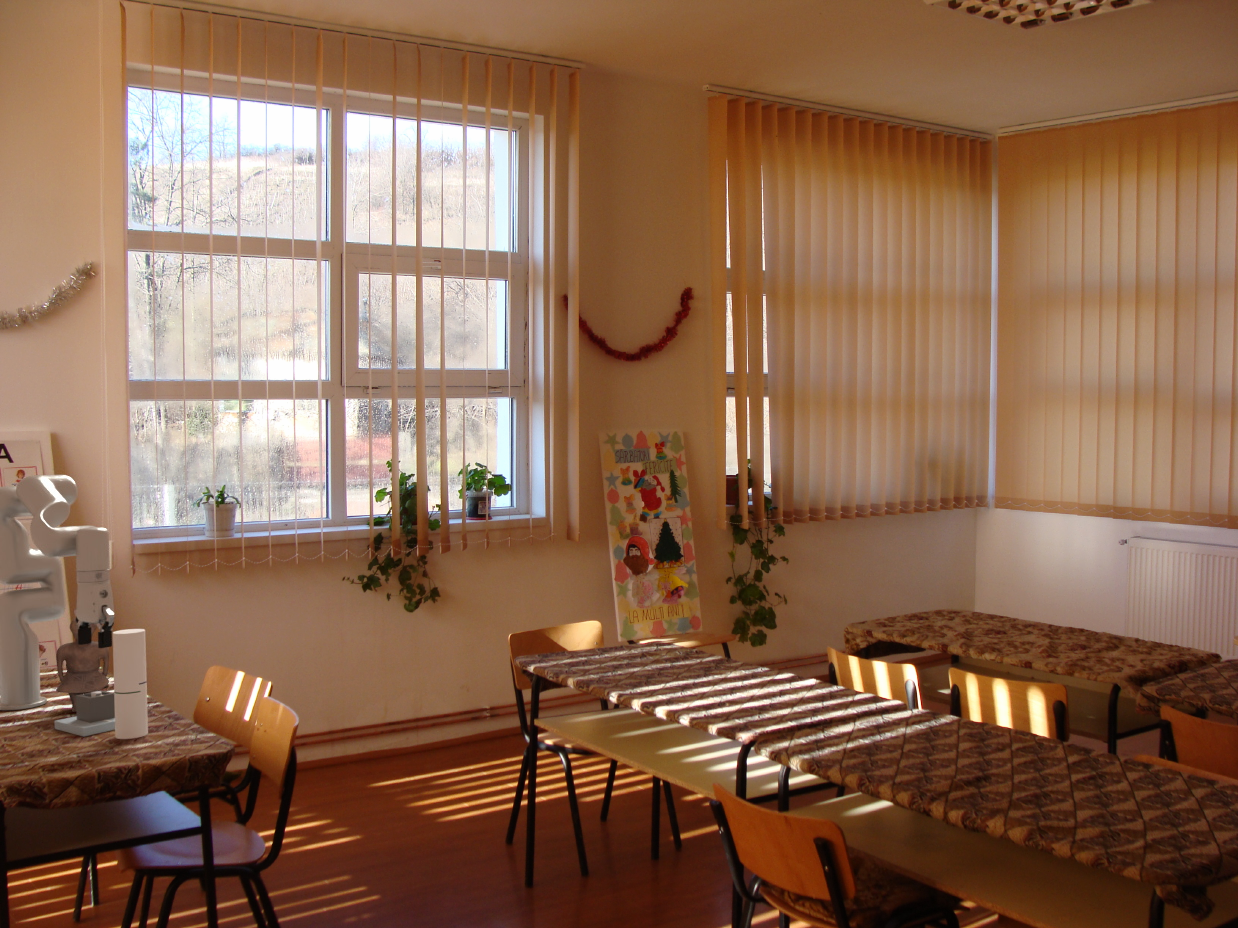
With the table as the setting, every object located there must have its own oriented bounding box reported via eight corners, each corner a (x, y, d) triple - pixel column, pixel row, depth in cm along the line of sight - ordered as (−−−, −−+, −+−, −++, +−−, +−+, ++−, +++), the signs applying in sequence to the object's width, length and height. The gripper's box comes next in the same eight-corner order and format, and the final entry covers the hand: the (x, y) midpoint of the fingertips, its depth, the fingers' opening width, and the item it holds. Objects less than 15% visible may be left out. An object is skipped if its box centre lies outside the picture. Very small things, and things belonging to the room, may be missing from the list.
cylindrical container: (154, 732, 259) (151, 629, 259) (132, 739, 253) (129, 634, 252) (131, 730, 262) (128, 628, 262) (108, 737, 255) (105, 633, 255)
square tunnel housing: (102, 713, 271) (102, 689, 271) (116, 717, 267) (115, 692, 267) (76, 719, 266) (76, 694, 266) (90, 722, 262) (89, 697, 262)
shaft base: (54, 728, 265) (53, 694, 265) (109, 716, 276) (108, 684, 276) (83, 736, 257) (82, 701, 257) (139, 723, 268) (138, 689, 268)
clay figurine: (55, 716, 279) (53, 620, 279) (57, 708, 288) (54, 615, 288) (110, 709, 284) (108, 616, 284) (110, 702, 293) (108, 611, 293)
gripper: (126, 577, 264) (127, 646, 265) (90, 573, 275) (91, 640, 275) (96, 580, 258) (98, 651, 259) (60, 576, 269) (62, 644, 269)
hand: (94, 645), depth 267 cm, fingers open, 9 cm apart
